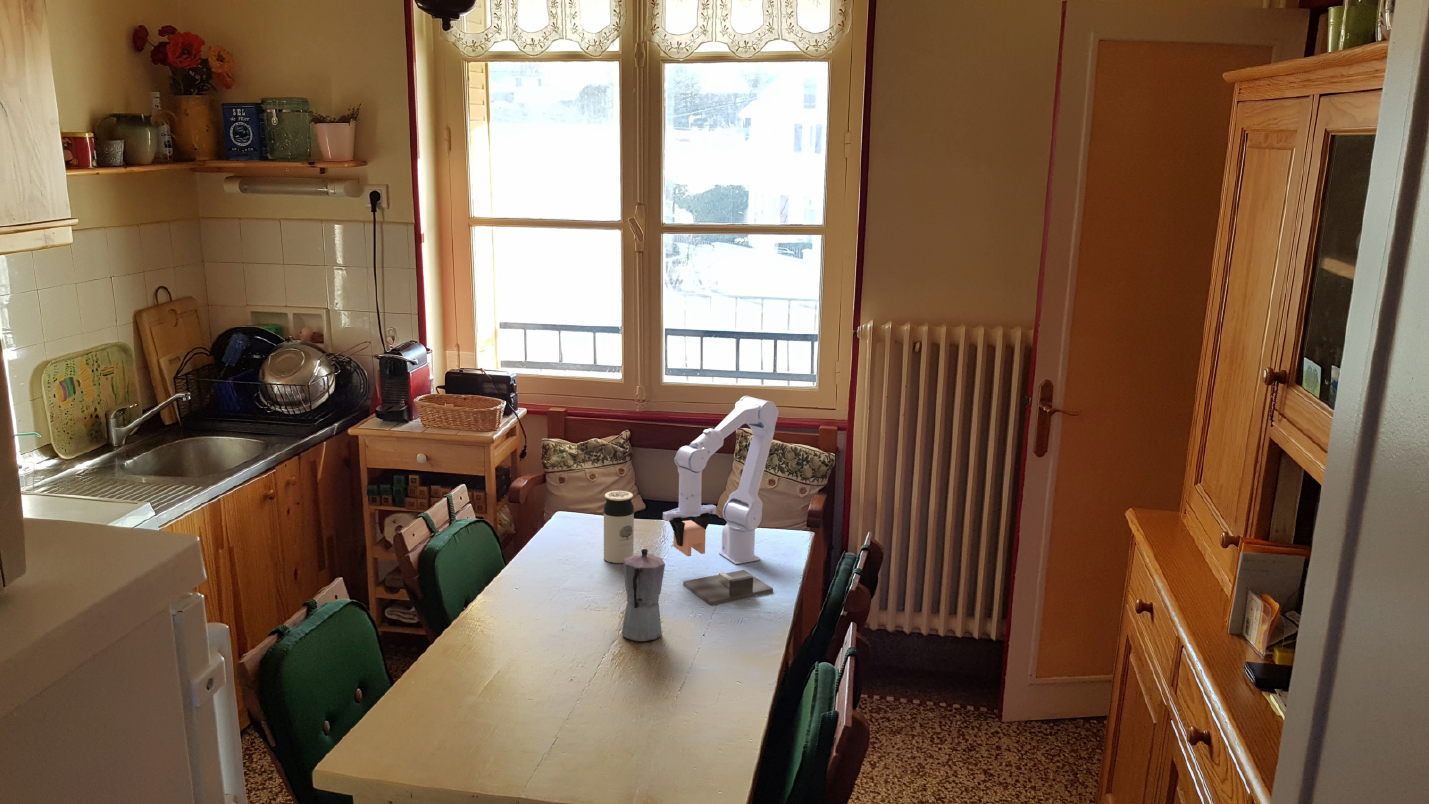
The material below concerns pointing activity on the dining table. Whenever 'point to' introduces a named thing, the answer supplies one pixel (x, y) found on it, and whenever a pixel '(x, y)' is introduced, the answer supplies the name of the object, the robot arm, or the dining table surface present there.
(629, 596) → the moka pot
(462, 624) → the dining table surface
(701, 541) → the slotted block
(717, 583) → the rail board
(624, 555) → the travel mug
